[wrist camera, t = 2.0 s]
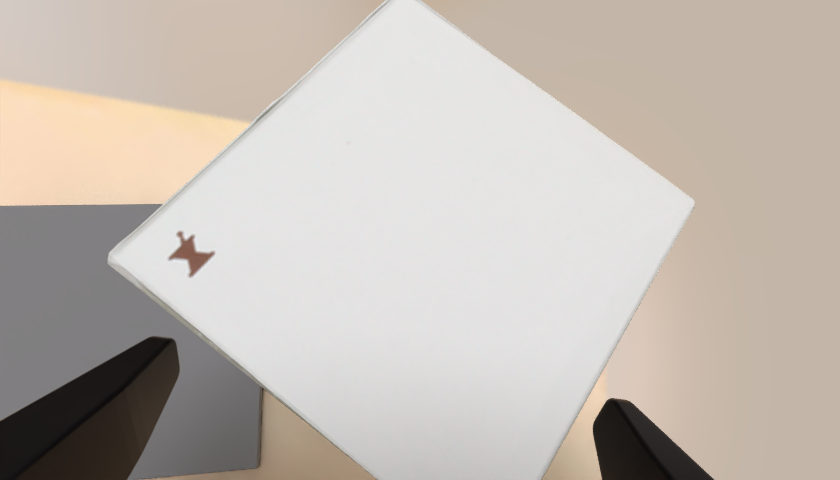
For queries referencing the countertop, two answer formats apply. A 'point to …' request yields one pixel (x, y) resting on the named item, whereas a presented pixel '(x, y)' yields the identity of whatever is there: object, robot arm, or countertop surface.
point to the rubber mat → (112, 336)
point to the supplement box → (415, 253)
